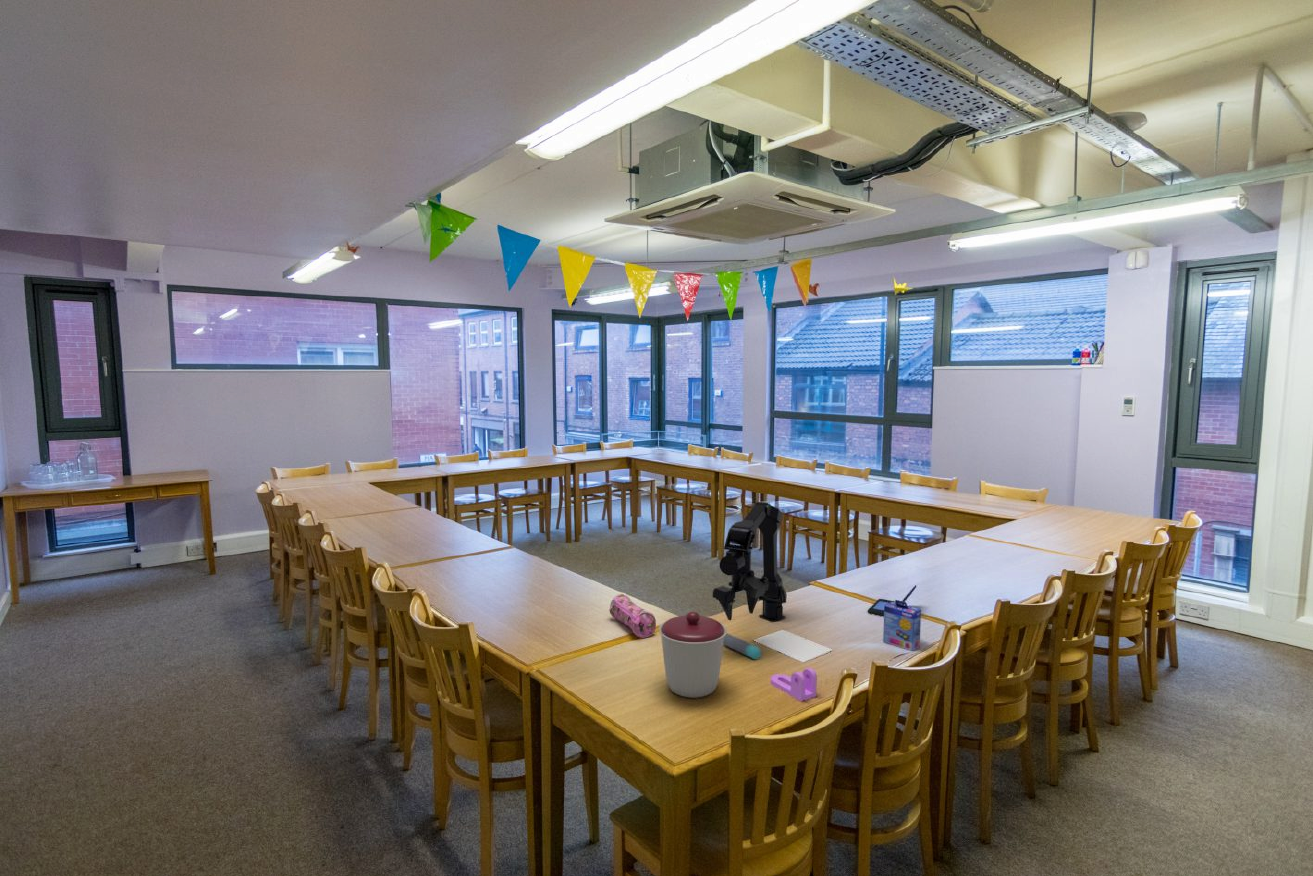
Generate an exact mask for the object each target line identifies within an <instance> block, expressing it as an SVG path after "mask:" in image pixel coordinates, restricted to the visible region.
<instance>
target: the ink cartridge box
mask: <svg viewBox="0 0 1313 876" xmlns="http://www.w3.org/2000/svg"><path fill="white" fill-rule="evenodd" d="M898 602H900V603H903V604H904V605H903V604H900V603H898ZM921 618H922V609H920V608H919V607H914V606H910V605H908V603H907V602H906V601H905V602H903V600H898V599H895V602H890V603H888V604H886V605H884V617H883V635H882V642H883V643H885V644H889V645H892V646H895V647H898V648H900V649H901V648H902V649H904V650H907V651H911V652H913V651H915V650H917V649H918V648H920V646H921V625H922V624H921V620H922V619H921Z"/></svg>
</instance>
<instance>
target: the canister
mask: <svg viewBox="0 0 1313 876" xmlns="http://www.w3.org/2000/svg"><path fill="white" fill-rule="evenodd" d="M658 633H659V634H660V636H661V644H662V653H663V656H662V657H663V666H664V672H665V680H666V683H667V686H668V688H669V689H670V690H671V691H672V692H673V693H675V694H676V695H679V696H680V697H685V698H703V697H706V696H708V695H711V694H712V693H713V692H714V691H715V690H716V689H717V686H718V683H719V679H720V673H721V668H722V667H721V665H722V657H723V651H724V645H723V643H724V637H725V636H726V634H728V629H727V627H726V625H724V624H723V623H722V622H720V621H718V620H716V619H714V618H711V617H709V616H705V615H700V614H699V613H698V612H696V611H689V612H687V613H686V615H684V614H683V615H677V616H674V617H672V618H669V619H667V620H665V621H664V622H662V623H661V624H660V625H659V627H658Z"/></svg>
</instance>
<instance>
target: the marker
mask: <svg viewBox="0 0 1313 876" xmlns="http://www.w3.org/2000/svg"><path fill="white" fill-rule="evenodd" d="M723 646H726V647H728V648H730V649H731V650H734V651H737V652H738V653H740V654H743V655H745V656H746V657H749V658H752V659H753V660H755V659H756V660H758V659H759V658H760V657H761V654H762V650H761V648H760V647H759V646H756V645H755V644H752V643H750V642H749V641H748V642H747V641H745V640H744V639H740V638H739V637H737V636H734V635H732V634H729V633H727V634H726V636H725V637H724V643H723ZM757 658H758V659H757Z"/></svg>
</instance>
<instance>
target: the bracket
mask: <svg viewBox="0 0 1313 876" xmlns="http://www.w3.org/2000/svg"><path fill="white" fill-rule="evenodd" d="M785 683H786V684H785ZM770 684H771V685H772V686H773V687H774V688H776V689H778V688H779V689H778V690H780V689H781V690H782V691H781V690H780V691H781V692H783V691H784V693H785V692H786V693H787V695H788V694H789V696H790V697H792V698H793V697H794V699H795V698H796V699H795V700H797V701H799V700H800V701H802V702H804V701H803V700H805V701H808V700H810V699H813V698H815V696H816V697H817V689H818V688H817V686H818V676H817V672H816V671H815V670H814V669H813V668H812V667H808V668H805V669H804V670H803V671H802V672H801V671H796V672H794V673H792V674H791V675H790V676H788V675H786V674H780V673H779V674H777V673H776V674H773V675H772V676H770ZM786 693H785V694H786ZM812 697H813V698H812ZM800 701H799V702H800Z"/></svg>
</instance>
